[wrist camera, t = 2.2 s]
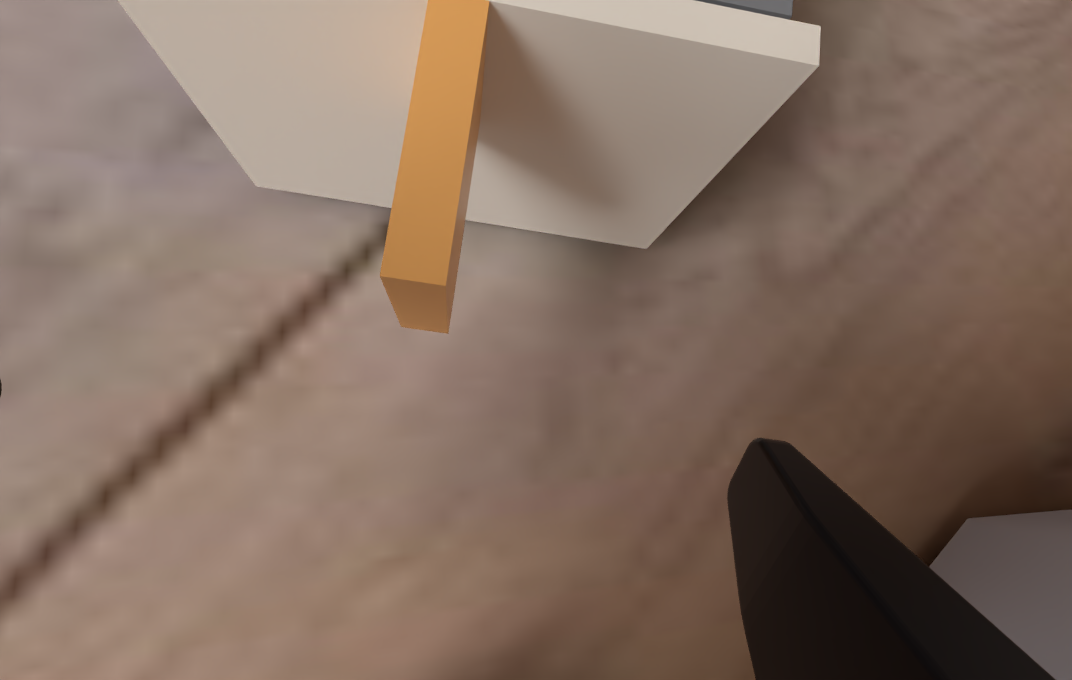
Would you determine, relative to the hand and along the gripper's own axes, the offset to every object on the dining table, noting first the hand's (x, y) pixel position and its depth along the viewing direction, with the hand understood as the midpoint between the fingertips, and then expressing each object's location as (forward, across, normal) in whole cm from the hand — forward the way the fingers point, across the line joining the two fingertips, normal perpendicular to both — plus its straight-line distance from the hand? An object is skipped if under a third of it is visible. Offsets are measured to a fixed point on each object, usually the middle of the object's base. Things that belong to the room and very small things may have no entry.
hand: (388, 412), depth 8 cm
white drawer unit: (+16, 0, +1) cm, 16 cm away
